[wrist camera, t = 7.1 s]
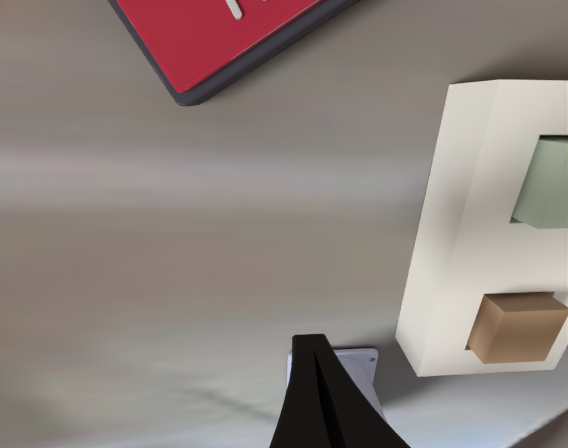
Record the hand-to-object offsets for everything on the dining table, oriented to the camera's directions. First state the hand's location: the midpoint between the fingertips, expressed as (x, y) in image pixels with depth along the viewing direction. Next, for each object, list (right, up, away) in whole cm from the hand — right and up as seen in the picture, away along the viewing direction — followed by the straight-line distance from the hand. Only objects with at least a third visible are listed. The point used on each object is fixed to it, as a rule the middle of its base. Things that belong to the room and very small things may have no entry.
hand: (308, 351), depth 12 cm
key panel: (+14, +5, +9) cm, 18 cm away
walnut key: (+14, -1, +9) cm, 17 cm away
